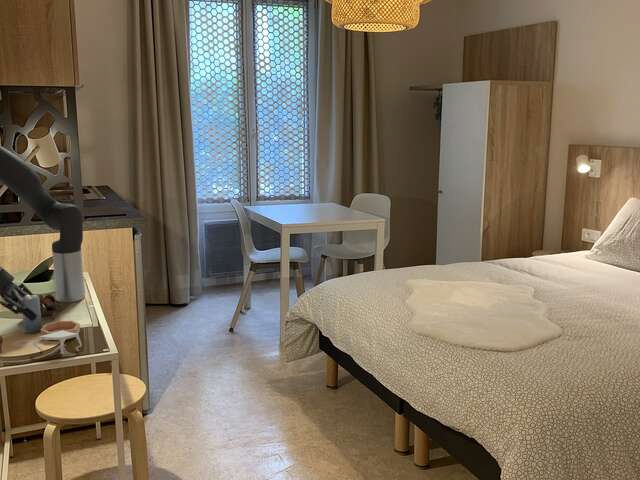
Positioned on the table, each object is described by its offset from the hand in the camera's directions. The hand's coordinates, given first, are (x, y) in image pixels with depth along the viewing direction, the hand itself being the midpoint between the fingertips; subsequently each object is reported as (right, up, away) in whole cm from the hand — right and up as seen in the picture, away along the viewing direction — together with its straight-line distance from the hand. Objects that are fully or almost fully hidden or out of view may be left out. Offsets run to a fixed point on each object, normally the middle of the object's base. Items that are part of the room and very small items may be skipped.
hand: (38, 315), depth 194 cm
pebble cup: (-2, -4, +1) cm, 5 cm away
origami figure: (+11, -9, -13) cm, 19 cm away
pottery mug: (-4, -2, +13) cm, 14 cm away
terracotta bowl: (+7, -6, -1) cm, 9 cm away
